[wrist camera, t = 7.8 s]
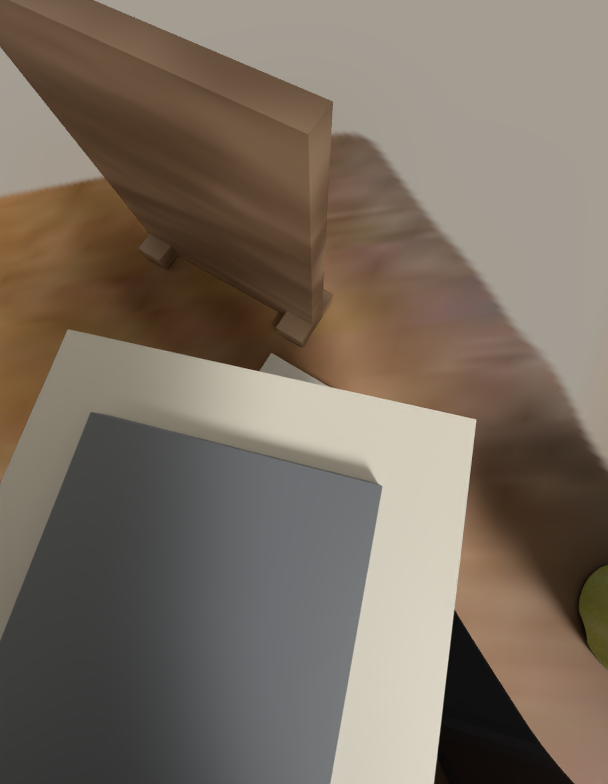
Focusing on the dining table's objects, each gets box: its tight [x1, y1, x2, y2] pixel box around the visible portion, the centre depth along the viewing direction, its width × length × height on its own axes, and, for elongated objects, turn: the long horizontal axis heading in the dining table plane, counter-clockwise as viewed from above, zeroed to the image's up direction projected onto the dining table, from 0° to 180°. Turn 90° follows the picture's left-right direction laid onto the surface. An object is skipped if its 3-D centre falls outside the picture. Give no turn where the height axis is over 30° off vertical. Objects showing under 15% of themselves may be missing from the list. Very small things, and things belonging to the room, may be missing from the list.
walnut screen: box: [0, 0, 333, 347], centre depth 13 cm, size 4×14×12 cm, turn 58°
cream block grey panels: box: [0, 329, 476, 784], centre depth 9 cm, size 5×5×13 cm
